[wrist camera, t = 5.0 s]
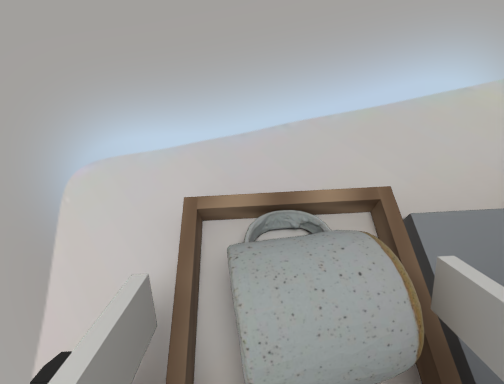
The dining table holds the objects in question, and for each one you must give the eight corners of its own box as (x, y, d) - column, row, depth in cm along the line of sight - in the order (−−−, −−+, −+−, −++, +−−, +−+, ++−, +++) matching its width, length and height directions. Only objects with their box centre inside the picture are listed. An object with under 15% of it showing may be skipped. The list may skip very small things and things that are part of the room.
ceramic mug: (389, 367, 15) (484, 377, 9) (252, 402, 15) (243, 442, 8) (326, 209, 21) (355, 143, 14) (223, 230, 20) (205, 171, 14)
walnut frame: (379, 199, 21) (390, 186, 19) (475, 489, 13) (508, 511, 11) (190, 209, 21) (184, 197, 19) (166, 504, 13) (151, 528, 11)
